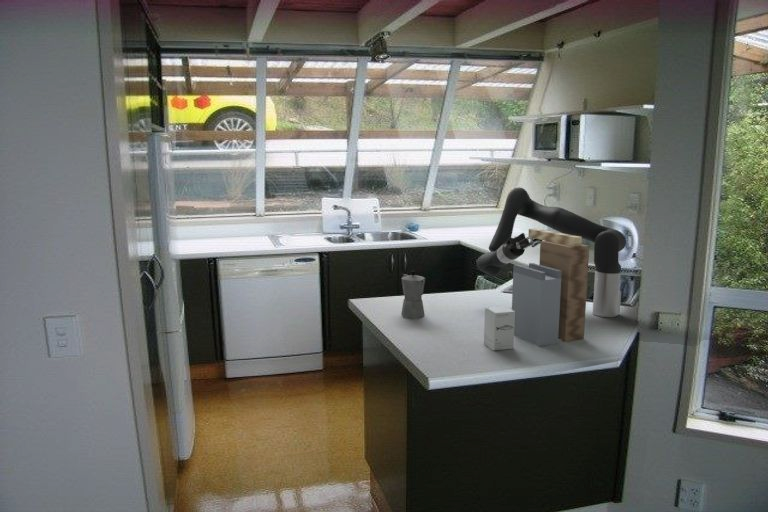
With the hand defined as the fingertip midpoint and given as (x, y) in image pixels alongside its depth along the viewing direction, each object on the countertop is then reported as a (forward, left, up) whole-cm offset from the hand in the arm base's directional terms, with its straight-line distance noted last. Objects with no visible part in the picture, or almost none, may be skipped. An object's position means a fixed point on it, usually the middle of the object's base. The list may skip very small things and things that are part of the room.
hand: (533, 234), depth 202 cm
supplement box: (+27, +19, -33) cm, 47 cm away
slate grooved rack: (+11, +16, -33) cm, 38 cm away
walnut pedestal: (0, +16, -33) cm, 37 cm away
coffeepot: (+37, -26, -33) cm, 56 cm away
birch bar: (0, +11, -1) cm, 11 cm away
